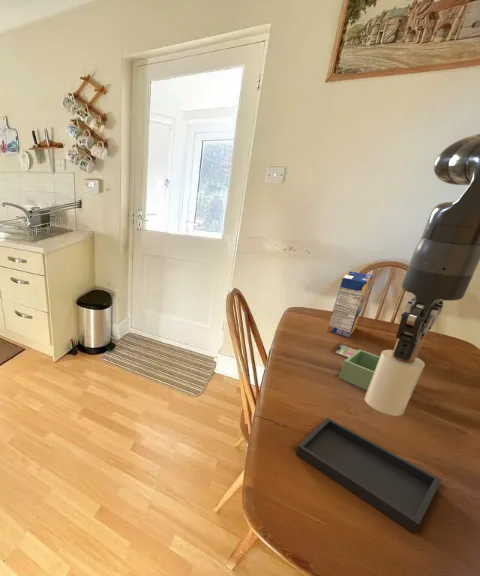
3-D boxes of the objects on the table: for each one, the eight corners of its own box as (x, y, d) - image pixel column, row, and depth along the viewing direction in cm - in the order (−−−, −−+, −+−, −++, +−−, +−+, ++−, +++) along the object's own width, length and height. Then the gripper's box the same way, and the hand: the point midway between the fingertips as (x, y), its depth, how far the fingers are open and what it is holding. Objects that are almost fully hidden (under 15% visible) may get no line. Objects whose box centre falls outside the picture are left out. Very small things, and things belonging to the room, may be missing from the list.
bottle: (408, 407, 62) (439, 337, 56) (398, 420, 59) (430, 347, 53) (370, 391, 66) (396, 324, 61) (359, 402, 63) (385, 332, 58)
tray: (436, 488, 62) (441, 479, 61) (414, 534, 54) (419, 524, 53) (324, 425, 77) (327, 417, 76) (295, 454, 69) (297, 445, 68)
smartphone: (392, 376, 95) (393, 372, 94) (333, 355, 105) (334, 352, 105) (396, 365, 100) (398, 362, 99) (340, 347, 110) (341, 344, 110)
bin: (398, 386, 90) (407, 366, 88) (385, 401, 85) (393, 380, 82) (353, 367, 99) (359, 348, 97) (338, 379, 93) (344, 360, 91)
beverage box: (326, 331, 121) (342, 277, 113) (334, 322, 128) (349, 271, 120) (348, 337, 116) (366, 282, 108) (355, 328, 123) (372, 275, 115)
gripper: (464, 281, 45) (420, 378, 52) (482, 265, 53) (442, 352, 59) (397, 268, 51) (365, 357, 58) (422, 255, 59) (391, 336, 65)
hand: (404, 354), depth 58 cm, fingers closed on bottle, 3 cm apart
